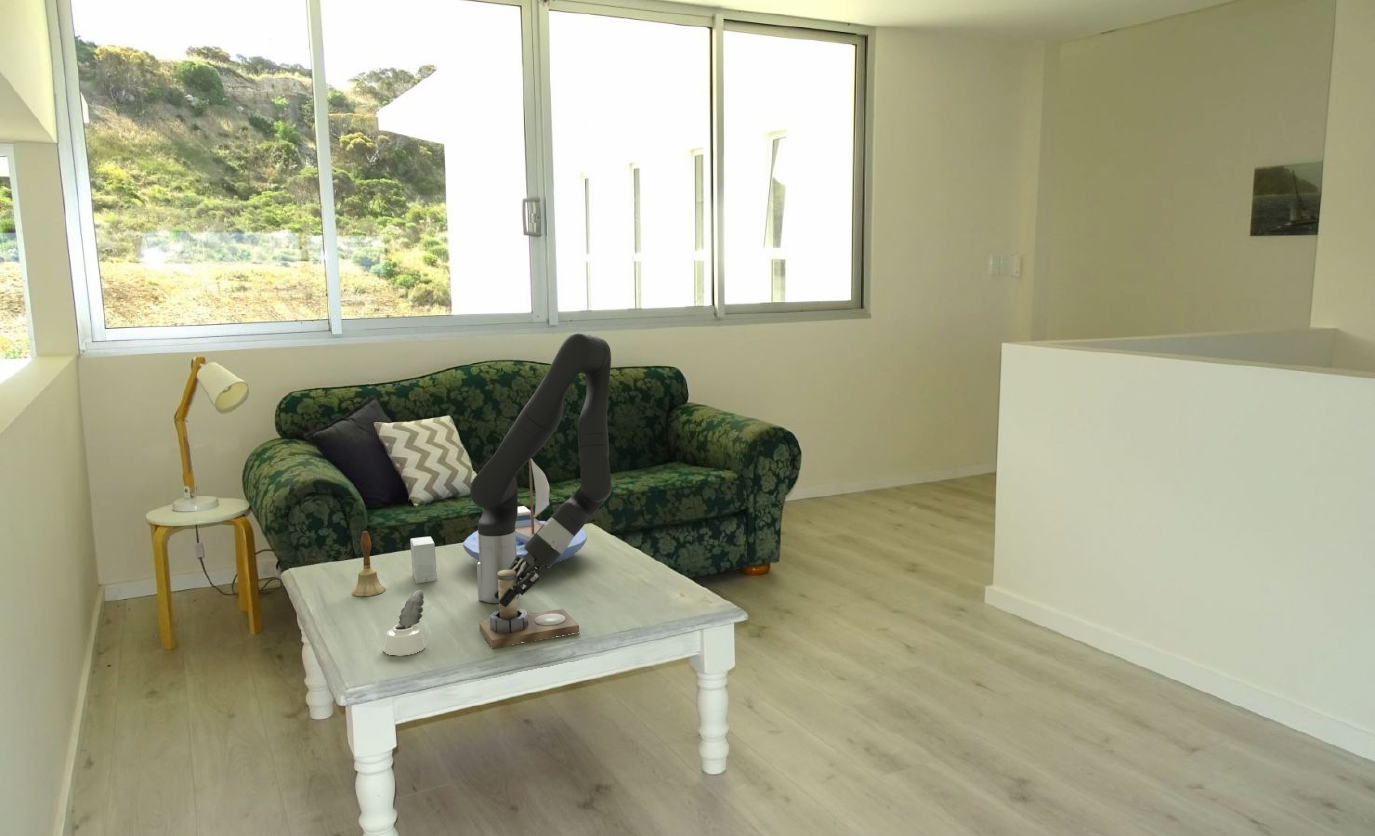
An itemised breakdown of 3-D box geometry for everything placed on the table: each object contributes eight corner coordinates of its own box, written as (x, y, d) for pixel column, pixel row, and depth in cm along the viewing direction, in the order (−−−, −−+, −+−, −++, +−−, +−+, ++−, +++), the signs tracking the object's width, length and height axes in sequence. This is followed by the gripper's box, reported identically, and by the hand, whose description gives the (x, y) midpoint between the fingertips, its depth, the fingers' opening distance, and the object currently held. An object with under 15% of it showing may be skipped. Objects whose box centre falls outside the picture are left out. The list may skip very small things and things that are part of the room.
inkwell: (376, 657, 212) (373, 612, 210) (402, 626, 230) (399, 585, 228) (419, 656, 212) (416, 612, 210) (441, 626, 229) (439, 585, 228)
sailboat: (480, 589, 255) (474, 467, 250) (452, 555, 287) (446, 446, 282) (605, 570, 270) (601, 454, 265) (565, 539, 301) (561, 435, 296)
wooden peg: (497, 626, 221) (494, 574, 219) (503, 619, 225) (501, 569, 223) (514, 627, 220) (512, 575, 218) (520, 620, 224) (518, 569, 222)
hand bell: (349, 589, 257) (345, 530, 255) (382, 584, 261) (378, 526, 258) (354, 598, 250) (350, 537, 247) (388, 593, 253) (384, 533, 251)
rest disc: (530, 624, 223) (530, 623, 223) (540, 614, 230) (540, 613, 230) (560, 626, 222) (560, 625, 222) (568, 615, 229) (568, 614, 229)
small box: (437, 581, 263) (435, 543, 261) (415, 584, 261) (413, 545, 259) (433, 572, 270) (431, 535, 268) (412, 575, 268) (410, 538, 266)
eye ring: (486, 632, 219) (485, 619, 219) (498, 620, 227) (498, 607, 226) (520, 634, 218) (520, 621, 217) (532, 621, 226) (531, 609, 225)
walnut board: (492, 648, 215) (491, 640, 215) (479, 630, 226) (479, 622, 226) (579, 633, 223) (579, 624, 223) (563, 616, 234) (562, 608, 234)
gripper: (529, 525, 229) (479, 582, 226) (546, 540, 216) (494, 601, 213) (552, 544, 232) (503, 601, 229) (570, 560, 219) (519, 621, 216)
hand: (499, 601), depth 221 cm, fingers closed on wooden peg, 4 cm apart
